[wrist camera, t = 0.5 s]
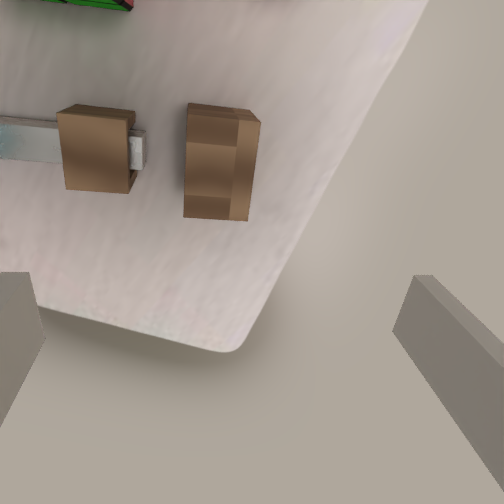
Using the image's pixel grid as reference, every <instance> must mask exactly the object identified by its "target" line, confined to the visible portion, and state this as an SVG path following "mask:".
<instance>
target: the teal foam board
mask: <svg viewBox="0 0 504 504" xmlns="http://www.w3.org/2000/svg"><path fill="white" fill-rule="evenodd" d="M128 140H129V167H130V169H134V170H143V168H144V166H145V163H146V131H139V130H128ZM0 158H2V159H14V160H26V161H38V162H50V163H62V164H63V162H62V154H61V146H60V138H59V131H58V123H57V122H51V121H42V120H32V119H22V118H13V117H3V116H0Z"/></svg>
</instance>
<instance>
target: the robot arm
mask: <svg viewBox="0 0 504 504" xmlns="http://www.w3.org/2000/svg"><path fill="white" fill-rule="evenodd" d="M392 332H393V333H394V335H395V336H396V337H397V339H398V340H399V342H400V343H401V345H402V346H403V348H404V349H405V350H406V352H407V353H408V355H409V356H410V358H411V359H412V360H413V362H414V363H415V365H416V366H417V368H418V369H419V371H420V372H421V373H422V375H423V376H424V378H425V379H426V381H427V382H428V383H429V385H430V386H431V388H432V389H433V391H434V392H435V393H436V395H437V396H438V398H439V399H440V401H441V402H442V404H443V405H444V406H445V408H446V409H447V411H448V412H449V414H450V415H451V417H452V418H453V419H454V421H455V422H456V424H457V425H458V427H459V428H460V430H461V431H462V432H463V434H464V435H465V437H466V438H467V439H468V441H469V442H470V444H471V445H472V447H473V448H474V450H475V451H476V453H477V454H478V455H479V457H480V458H481V460H482V461H483V463H484V464H485V465H486V467H487V468H488V470H489V471H490V473H491V474H492V476H493V477H494V478H495V480H496V481H497V483H498V484H499V486H500V487H501V488H502V490H503V491H504V344H503V343H502V342H501V341H500V340H499V339H498V338H497V337H496V336H495V335H494V334H493V333H492V332H491V331H490V330H489V329H488V328H487V327H486V326H485V325H484V324H483V323H482V322H481V321H480V320H478V319H477V318H476V317H475V316H474V315H473V314H472V313H471V312H470V311H469V310H468V309H467V308H466V307H465V306H464V305H463V304H462V303H461V302H460V301H459V300H458V299H457V298H456V297H454V296H453V295H452V294H451V293H450V292H449V291H448V290H447V289H446V288H445V287H444V286H443V285H442V284H441V283H440V282H439V281H438V280H437V279H436V278H435V277H433V276H432V275H414V276H413V279H412V281H411V284H410V287H409V289H408V292H407V294H406V297H405V300H404V302H403V305H402V307H401V310H400V313H399V315H398V318H397V320H396V323H395V325H394V328H393V331H392ZM44 341H45V334H44V330H43V327H42V322H41V318H40V314H39V310H38V306H37V302H36V298H35V294H34V290H33V286H32V282H31V278H30V274H29V272H1V273H0V426H1V424H2V423H3V421H4V419H5V417H6V415H7V413H8V411H9V409H10V407H11V405H12V403H13V401H14V399H15V397H16V395H17V394H18V392H19V390H20V388H21V386H22V384H23V382H24V380H25V378H26V376H27V374H28V372H29V370H30V368H31V366H32V364H33V362H34V361H35V359H36V357H37V355H38V353H39V351H40V349H41V347H42V345H43V343H44Z"/></svg>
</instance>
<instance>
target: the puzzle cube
mask: <svg viewBox="0 0 504 504" xmlns="http://www.w3.org/2000/svg"><path fill="white" fill-rule="evenodd" d="M42 1H50V2H58V3H66V4H67V2H70V3H73V4H76V5H84V6H92V7H100V8H107V9H115V10H123V11H131V10H132V9H133V7H134V6H133V0H42Z"/></svg>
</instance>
